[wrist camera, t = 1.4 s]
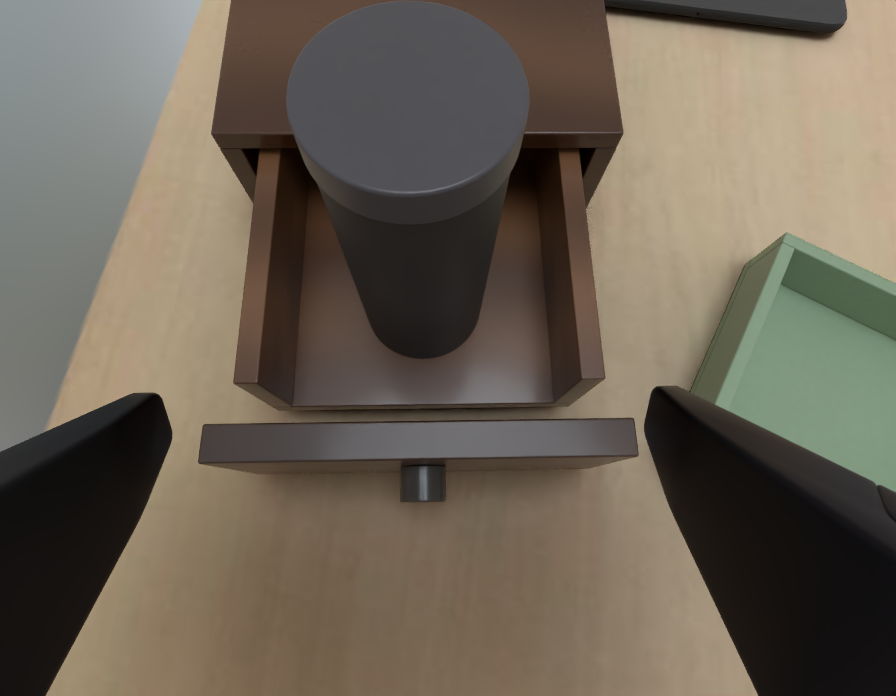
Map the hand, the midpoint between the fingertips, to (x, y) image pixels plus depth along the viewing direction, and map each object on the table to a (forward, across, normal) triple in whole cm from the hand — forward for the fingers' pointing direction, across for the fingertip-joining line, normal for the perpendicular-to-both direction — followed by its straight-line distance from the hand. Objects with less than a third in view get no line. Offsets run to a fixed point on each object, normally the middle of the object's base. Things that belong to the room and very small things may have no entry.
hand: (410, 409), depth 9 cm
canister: (+12, 0, +3) cm, 12 cm away
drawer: (+13, 0, +4) cm, 13 cm away
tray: (+10, -18, +8) cm, 22 cm away
